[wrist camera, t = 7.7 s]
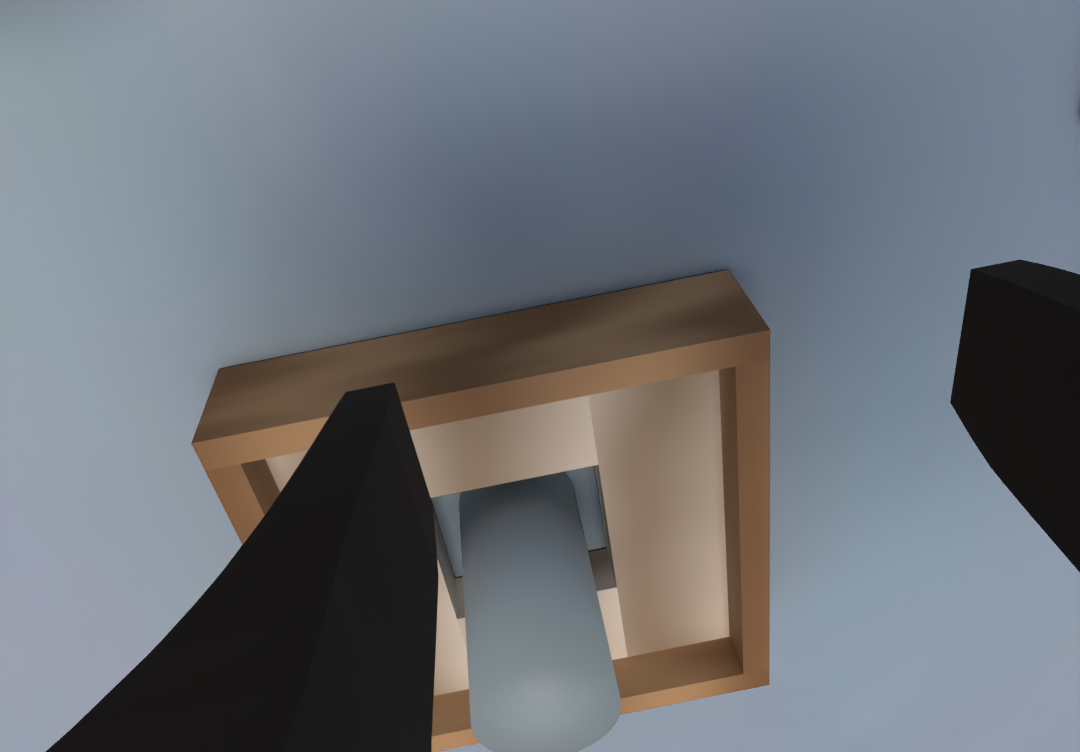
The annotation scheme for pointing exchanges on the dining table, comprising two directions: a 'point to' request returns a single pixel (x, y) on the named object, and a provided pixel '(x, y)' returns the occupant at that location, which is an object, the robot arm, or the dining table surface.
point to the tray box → (564, 463)
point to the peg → (533, 620)
